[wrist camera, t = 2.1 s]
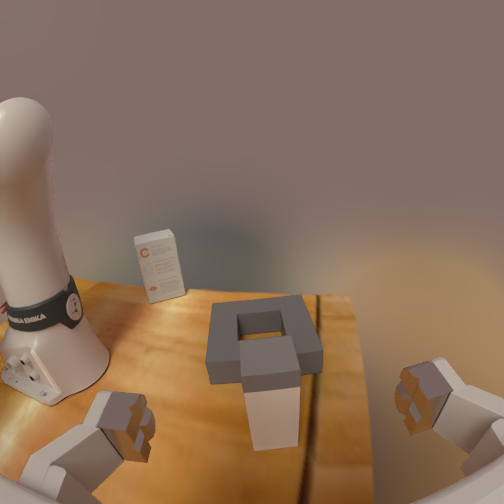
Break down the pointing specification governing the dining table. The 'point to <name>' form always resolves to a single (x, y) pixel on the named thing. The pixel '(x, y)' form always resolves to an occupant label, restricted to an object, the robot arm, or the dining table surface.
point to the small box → (159, 265)
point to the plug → (271, 391)
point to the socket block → (259, 321)
